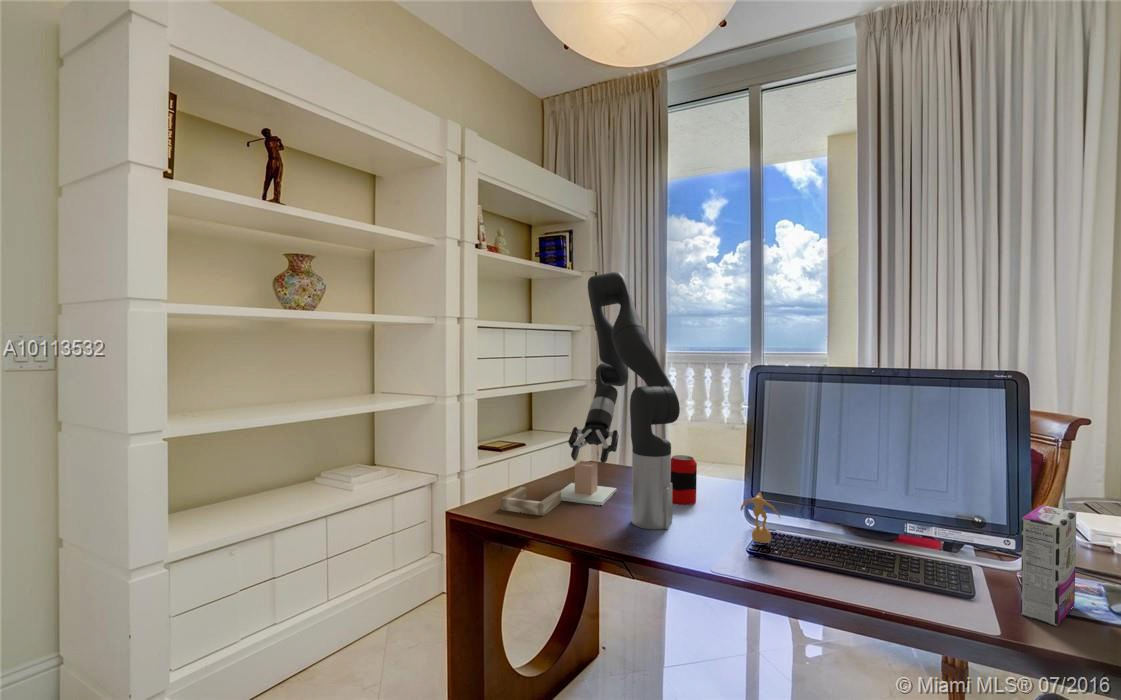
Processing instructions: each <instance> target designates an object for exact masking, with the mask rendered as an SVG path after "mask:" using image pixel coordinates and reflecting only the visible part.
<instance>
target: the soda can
mask: <svg viewBox="0 0 1121 700" xmlns="http://www.w3.org/2000/svg"><path fill="white" fill-rule="evenodd" d="M697 467H698V466H697V461H696V460H695V458H694V457H692V456H690V455H683V454H677V455H676V454H675V455H671V483H672V504H676V505H681V504H683V505H684V506H685V505H686V506H687V504H688V505H694V504H695V503H696V502H697V472H698V471H697V469H698V468H697Z"/></svg>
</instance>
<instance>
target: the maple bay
mask: <svg viewBox="0 0 1121 700" xmlns="http://www.w3.org/2000/svg"><path fill="white" fill-rule="evenodd" d="M559 491H560V490H559ZM559 491H557V490H556V491H554V492H553V493H551V494H550V495H548V496H547V497H545V498H544V499H543V500H541V501H538V500H530V499H526V498H527V487H525V486H520V487H518V488H516V489H515V490H514V491H511V492H510V493H508V494H506V495H504V496H503V497H502V498H501V502H500V503H501V510H502V511H505V512H507V511H508V512H514V513H520V512H521V514H528V515H534V514H535V516H540V515H541V517H543V516H545V514H546V515H547V514H548V513H550V512H551V511H552V510H553V509H554V508H556V507H558V505H560V504H561V503H562V500H561V492H559ZM501 510H500V511H501Z"/></svg>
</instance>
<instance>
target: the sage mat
mask: <svg viewBox="0 0 1121 700" xmlns="http://www.w3.org/2000/svg"><path fill="white" fill-rule="evenodd" d="M617 490H618V489H617V488H616V487H611V486H601V485H597V491H596V492H595V493H593V494H592V495H587V494H579V493H575V482H571V483H569V484H568V485H566V486H565V487H564V488H562V489H561V490H559V492H561V501H565V502H570V503H571V502H573V503H577V504H578V503H579V504H585V505H586V504H587V505H593V504H594V505H593V506H600V505H602V506H603V505H604V504H605V503H607V501H608V500H609V499H611V498H612V497H613V494H614V493H615V492H616V491H617ZM616 493H617V492H616ZM616 493H615V494H616ZM615 494H614V495H615Z"/></svg>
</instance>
